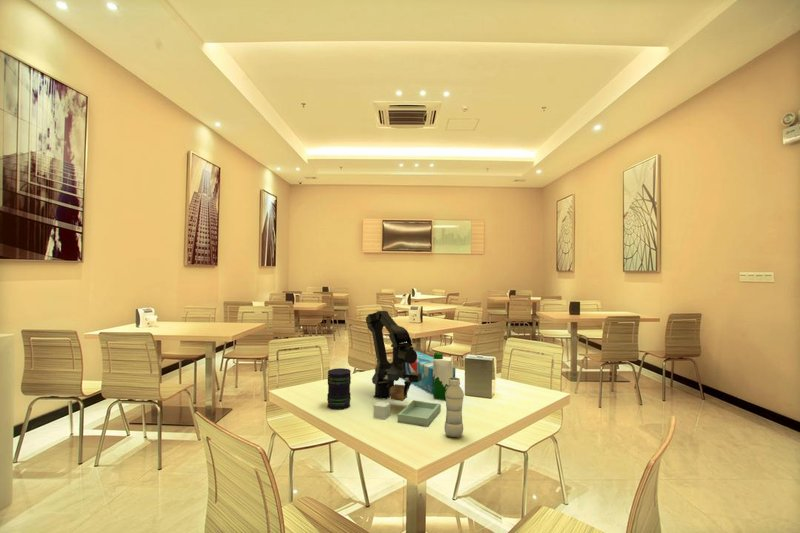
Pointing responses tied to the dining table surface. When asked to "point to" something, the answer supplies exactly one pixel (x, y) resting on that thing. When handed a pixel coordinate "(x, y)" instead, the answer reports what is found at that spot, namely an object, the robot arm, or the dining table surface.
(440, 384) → the milk carton
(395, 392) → the walnut block
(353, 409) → the dining table surface
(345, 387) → the storage jar
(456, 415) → the plastic bottle
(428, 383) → the soda box
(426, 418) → the tray
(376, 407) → the cube
